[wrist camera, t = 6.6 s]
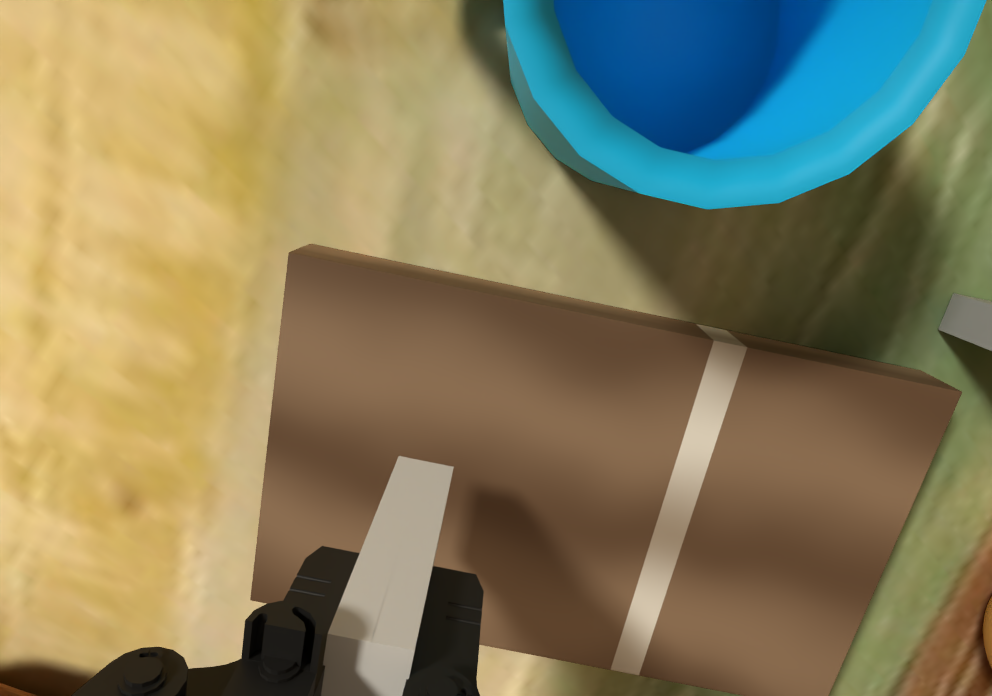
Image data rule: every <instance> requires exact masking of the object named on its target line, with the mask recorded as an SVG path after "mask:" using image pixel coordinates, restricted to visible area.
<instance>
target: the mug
mask: <svg viewBox="0 0 992 696" xmlns="http://www.w3.org/2000/svg"><path fill="white" fill-rule="evenodd" d="M985 3H986V0H503V5H504V17H505V29H506V39H507V49H508V59H509V69H510V79H511V84H512V86H513V89H514V91H515V94H516V97H517V99H518V102H519V104H520V107H521V109H522V112H523V114H524V117H525V119H526V122H527V124H528V126H529V127H530V128H531V129H532V131H533V132H534V133H535V134H536V135H537V137H538V138H539V139H540V140H541V142H542V143H543V144H544V145H545V146H546V148H547V149H548V150H549V151H550V153H551V154H552V155H553V156H554V157H555V158H556V159H557V160H559V161H560V162H562V163H564V164H565V165H567V166H568V167H570V168H572V169H573V170H575V171H576V172H578V173H580V174H581V175H583V176H584V177H586V178H588V179H589V180H591V181H594V182H598V183H602V184H606V185H609V186H613V187H617V188H621V189H625V190H628V191H632V192H636V193H640V194H644V195H648V196H652V197H657V198H661V199H665V200H669V201H674V202H678V203H682V204H686V205H690V206H695V207H699V208H703V209H718V208H729V207H740V206H751V205H762V204H774V203H780V202H783V201H785V200H787V199H790V198H792V197H795V196H797V195H800V194H802V193H805V192H807V191H809V190H812V189H814V188H817V187H819V186H822V185H824V184H826V183H829V182H831V181H834V180H836V179H839V178H841V177H844V176H846V175H848V174H850V173H851V172H853V171H854V170H855V169H856V168H858V167H859V166H860V165H862V164H863V163H864V162H865V161H867V160H868V159H869V158H870V157H872V156H873V155H874V154H875V153H877V152H878V151H879V150H881V149H882V148H883V147H884V146H886V145H887V144H888V143H889V142H891V141H892V140H893V139H895V138H896V137H897V136H898V135H900V134H901V133H902V132H903V131H905V130H906V129H907V128H909V127H910V126H911V125H912V124H913V123H914V122H915V121H916V119H917V118H918V117H919V115H920V114H921V113H922V111H923V110H924V109H925V107H926V106H927V105H928V103H929V102H930V101H931V99H932V98H933V96H934V95H935V94H936V92H937V91H938V90H939V88H940V87H941V86H942V84H943V83H944V82H945V80H946V79H947V78H948V76H949V75H950V74H951V72H952V71H953V70H954V68H955V67H956V66H957V64H958V63H959V62H960V60H961V59H962V58H963V56H964V55H965V52H966V50H967V47H968V45H969V42H970V40H971V37H972V35H973V32H974V30H975V27H976V25H977V23H978V20H979V18H980V15H981V13H982V10H983V8H984V5H985Z"/></svg>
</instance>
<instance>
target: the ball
mask: <svg viewBox="0 0 992 696" xmlns="http://www.w3.org/2000/svg"><path fill="white" fill-rule="evenodd" d="M983 639H984V647H985V651H986V655H987V658H988V661H989V664H990V666H991V669H992V597H991V598H990V600H989V603H988V605H987V608H986V611H985V615H984V623H983Z"/></svg>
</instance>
